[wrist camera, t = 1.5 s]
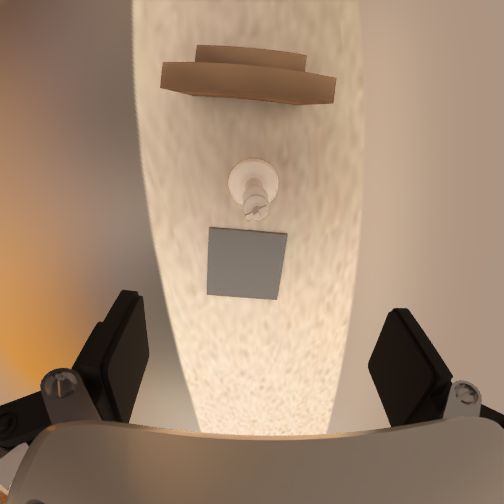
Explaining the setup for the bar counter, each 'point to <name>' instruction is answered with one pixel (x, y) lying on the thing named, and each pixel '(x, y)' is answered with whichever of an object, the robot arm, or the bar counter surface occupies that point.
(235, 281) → the pad
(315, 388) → the bar counter surface
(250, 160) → the chess piece
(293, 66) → the brown piece
